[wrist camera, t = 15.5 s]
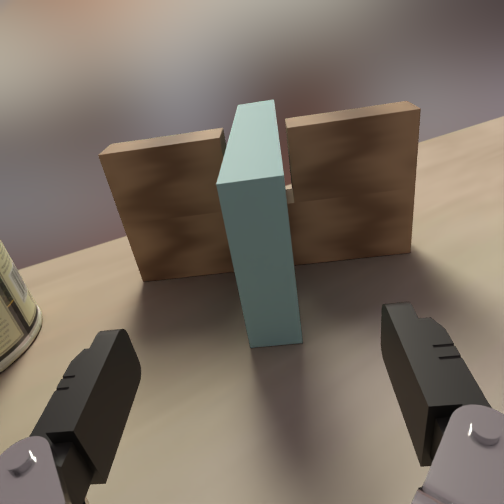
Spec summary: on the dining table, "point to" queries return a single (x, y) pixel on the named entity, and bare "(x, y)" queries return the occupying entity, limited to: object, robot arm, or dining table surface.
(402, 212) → the base plate
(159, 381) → the dining table surface
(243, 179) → the cross plate
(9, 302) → the coffee can
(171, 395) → the dining table surface
